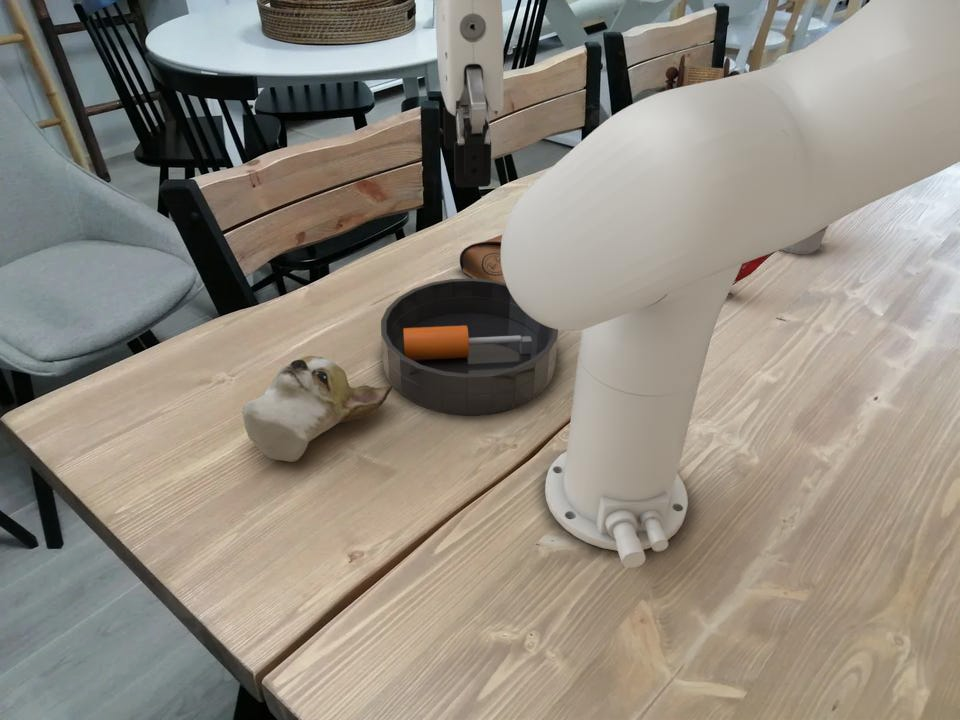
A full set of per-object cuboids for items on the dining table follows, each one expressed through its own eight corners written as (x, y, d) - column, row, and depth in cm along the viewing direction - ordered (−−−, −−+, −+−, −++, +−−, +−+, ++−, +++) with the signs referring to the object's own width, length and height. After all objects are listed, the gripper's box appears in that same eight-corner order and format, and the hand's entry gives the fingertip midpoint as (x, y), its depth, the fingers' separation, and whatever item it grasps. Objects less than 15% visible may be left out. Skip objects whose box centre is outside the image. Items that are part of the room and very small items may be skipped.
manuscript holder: (638, 193, 121) (658, 65, 109) (639, 160, 132) (657, 42, 121) (731, 201, 119) (762, 72, 107) (723, 167, 130) (750, 47, 119)
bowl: (570, 409, 77) (575, 371, 74) (384, 420, 75) (381, 381, 72) (538, 310, 92) (541, 275, 89) (383, 317, 90) (380, 281, 87)
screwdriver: (405, 367, 81) (403, 340, 79) (404, 348, 84) (403, 322, 82) (533, 360, 82) (535, 334, 80) (527, 342, 85) (529, 316, 83)
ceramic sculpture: (199, 377, 65) (312, 309, 76) (213, 452, 70) (318, 377, 81) (291, 420, 61) (397, 341, 72) (299, 496, 66) (397, 411, 77)
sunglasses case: (500, 292, 94) (483, 242, 93) (469, 297, 100) (453, 250, 99) (596, 251, 104) (582, 205, 102) (563, 258, 109) (550, 214, 108)
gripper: (531, -19, 54) (521, 201, 64) (495, -51, 68) (491, 134, 78) (428, -18, 53) (434, 205, 63) (413, -50, 67) (420, 136, 77)
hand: (466, 165), depth 71 cm, fingers open, 9 cm apart
